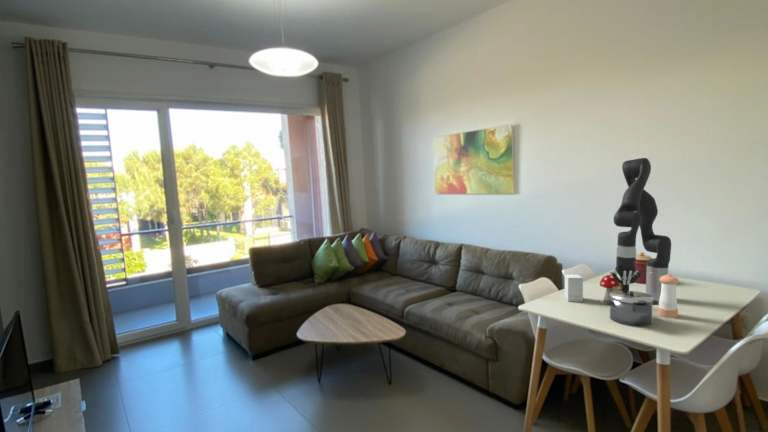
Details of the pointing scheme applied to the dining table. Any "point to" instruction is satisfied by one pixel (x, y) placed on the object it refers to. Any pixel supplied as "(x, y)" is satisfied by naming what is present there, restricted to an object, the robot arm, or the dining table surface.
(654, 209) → the robot arm
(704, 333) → the dining table surface
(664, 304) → the pepper shaker
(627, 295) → the cooker lid
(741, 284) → the dining table surface
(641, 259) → the canister
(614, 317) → the cooker pot
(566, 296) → the supplement box
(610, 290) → the decorative mushroom
